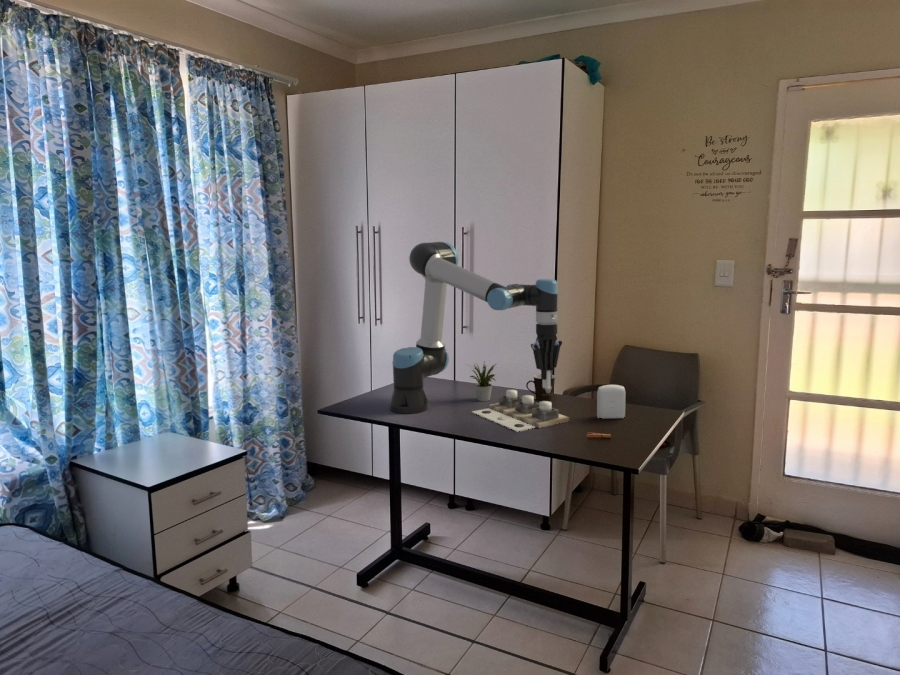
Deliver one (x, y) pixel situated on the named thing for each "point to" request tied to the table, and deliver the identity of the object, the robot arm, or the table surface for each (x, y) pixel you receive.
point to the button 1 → (511, 394)
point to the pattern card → (503, 419)
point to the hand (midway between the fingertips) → (546, 387)
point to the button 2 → (545, 406)
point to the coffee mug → (541, 392)
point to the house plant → (483, 383)
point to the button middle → (527, 400)
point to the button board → (528, 412)
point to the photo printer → (611, 401)
